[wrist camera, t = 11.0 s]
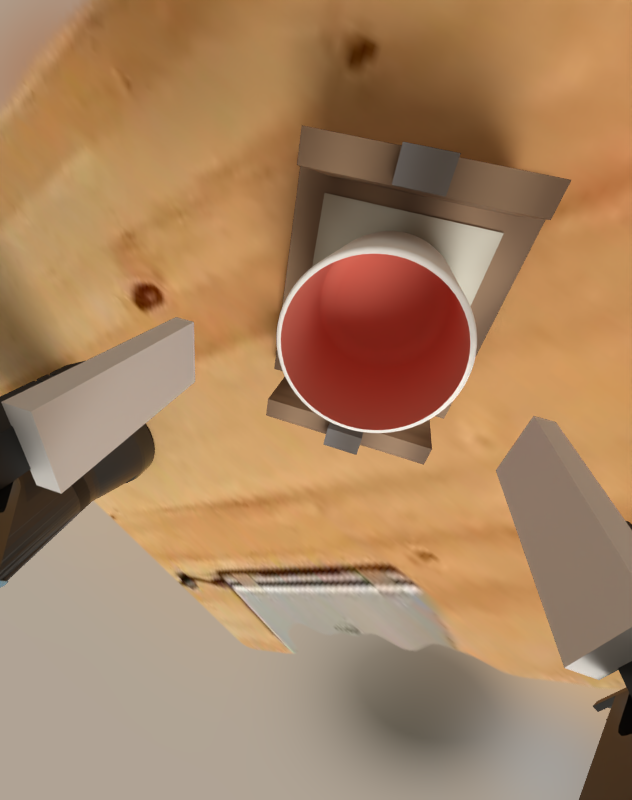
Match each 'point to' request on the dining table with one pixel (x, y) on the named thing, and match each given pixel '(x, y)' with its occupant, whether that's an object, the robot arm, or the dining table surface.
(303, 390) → the cup
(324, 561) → the dining table surface
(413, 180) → the holder
